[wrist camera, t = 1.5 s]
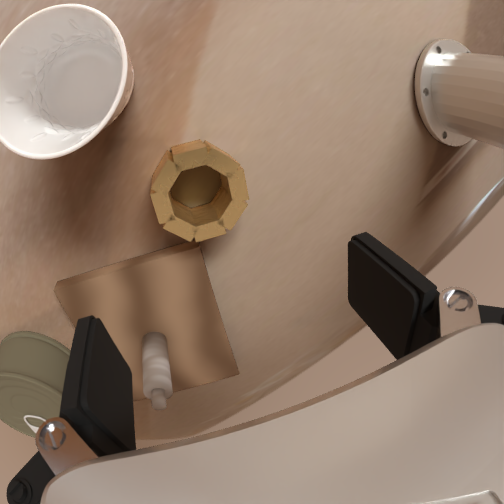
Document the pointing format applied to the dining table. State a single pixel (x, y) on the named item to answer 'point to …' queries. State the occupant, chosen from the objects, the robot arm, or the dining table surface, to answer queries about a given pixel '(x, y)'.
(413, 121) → the dining table surface
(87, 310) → the post block
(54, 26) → the white cup
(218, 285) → the dining table surface
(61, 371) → the can
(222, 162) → the ring
